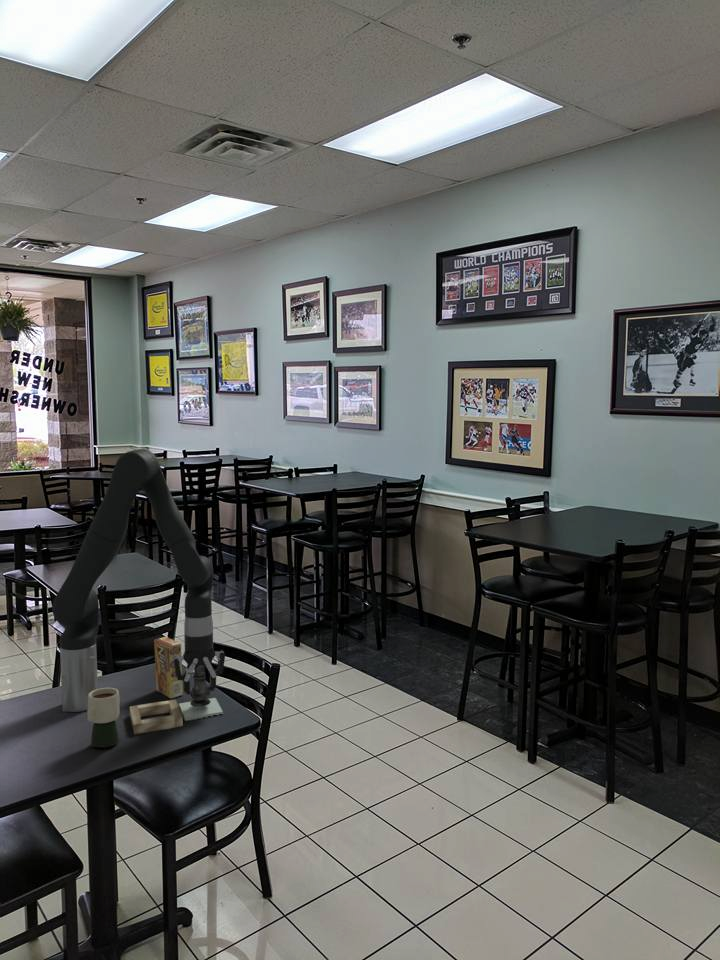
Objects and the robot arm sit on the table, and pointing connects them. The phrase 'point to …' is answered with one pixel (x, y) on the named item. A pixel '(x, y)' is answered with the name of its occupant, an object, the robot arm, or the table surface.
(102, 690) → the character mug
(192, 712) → the coaster
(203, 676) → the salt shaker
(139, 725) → the beige square frame
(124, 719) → the table surface
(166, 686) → the candy box
